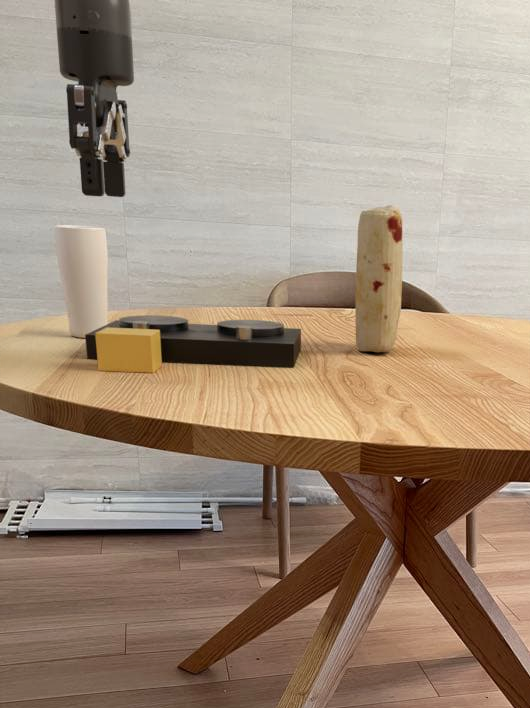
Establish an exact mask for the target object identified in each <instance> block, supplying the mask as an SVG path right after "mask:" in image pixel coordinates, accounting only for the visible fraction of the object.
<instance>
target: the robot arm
mask: <svg viewBox="0 0 530 708" xmlns="http://www.w3.org/2000/svg"><path fill="white" fill-rule="evenodd" d="M54 13H55V23H56V24H55V25H56V28H55V29H56V40H57V51H58V67H59V74H60V75H61V76H62V77H63V78H64V79H66V80H69V81H72V82H77V84H76V83H75V84H72V83H71V84H70V83H67V84H66V87H65V91H66V102H67V118H68V121H67V122H68V139H69V142H68V143H69V146H70V148H71V149H72V150H73V149H74V150H75V151H74V152H75V153H76V156H77V157H79V169H80V182H81V184H80V185H81V193H82V194H83V195H84V196H87V197H103V196H104V195H106V196H107V197H113V198H115V197H116V198H124V197H125V196H126V179H125V178H126V177H125V163H127V158H129V157H130V155H131V149H130V136H129V121H128V104H127V101H126V99H125V100H124V99H123V100H122V99H118V92H117V87H129V86H131V85H133V84H134V81H135V74H134V73H135V72H134V55H133V54H134V52H133V32H132V15H131V14H132V12H131V6H130V0H54Z"/></svg>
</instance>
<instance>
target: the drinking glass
mask: <svg viewBox="0 0 530 708" xmlns="http://www.w3.org/2000/svg"><path fill="white" fill-rule="evenodd" d="M54 241H55V249H56V251H55V252H56V258H57V264H58V269H59V274H60V275H59V276H60V280H61V285H62V291H63V296H64V302H65V307H66V308H65V309H66V313H67V319H68V328H69V333H70V335H71V336H72V337H75V338H80V339H86V338H85V335H86V334H88V333H90V332H92V331H94V330H96V329H99V328H101V327H103V326H105V325H107V324H109V253H108V241H107V231H106V228H105V227H103V226H92V225H69V224H68V225H67V224H65V225H63V224H61V225H60V224H59V225H55V226H54Z"/></svg>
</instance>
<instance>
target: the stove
mask: <svg viewBox="0 0 530 708" xmlns="http://www.w3.org/2000/svg"><path fill="white" fill-rule="evenodd" d="M107 327H109V328H132V329H154V330H160V341H161V358H162V363H177V364H202V365H203V364H204V365H221V366H222V365H224V366H244V367H245V366H249V367H271V368H272V367H273V368H292V369H293V368H295V367H296V364H297V360H298V358H299V356H300V353H301V351H302V329H301V328H293V327H291V328H289V327H285V324H283V323H281V322H277V321H271V320H262V319H228V320H227V319H226V320H221V321H217V323H216V324H206V323H205V324H204V323H189V319H187V318H184V317H181V316H173V315H172V316H171V315H153V314H152V315H151V314H150V315H146V314H145V315H129V316H128V315H127V316H123V317H120V318H118V320H113V321H111V322H108V324H107V325H105V326H103V327H101V328H99V329H96V330H94V331H92V332H90V333H88V334H86V335H85V338H84V339H85V348H86V349H85V350H86V359H87V360H98V359H97V348H96V336H95V333H97V332H99V331H101V330H103V329H105V328H107Z"/></svg>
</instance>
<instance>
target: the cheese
mask: <svg viewBox="0 0 530 708" xmlns="http://www.w3.org/2000/svg"><path fill="white" fill-rule="evenodd" d="M95 336H96V348H97V359H96V360H97V368H98V371H99V372H118V373H119V372H120V373H122V372H123V373H144V374H145V373H146V374H148V373H149V374H153V373H155V372H156V371H157V370H158V369H160V368H161V367H162V366H163V362H162V358H161V341H160V330H154V329H132V328H109V327H107V328H105V329H103V330H101V331H99V332H97V333H95Z"/></svg>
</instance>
